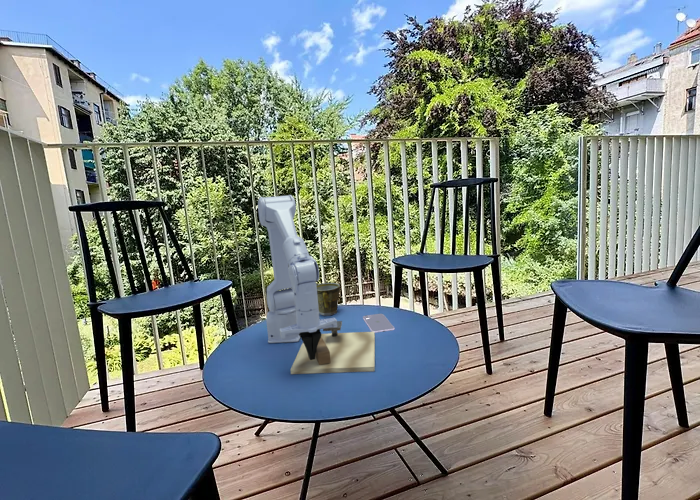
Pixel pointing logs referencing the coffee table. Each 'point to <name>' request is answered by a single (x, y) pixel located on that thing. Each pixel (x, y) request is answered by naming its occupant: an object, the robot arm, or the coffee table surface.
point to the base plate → (340, 354)
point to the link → (322, 353)
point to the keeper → (334, 329)
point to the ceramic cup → (328, 298)
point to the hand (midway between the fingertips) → (311, 358)
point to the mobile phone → (378, 323)
